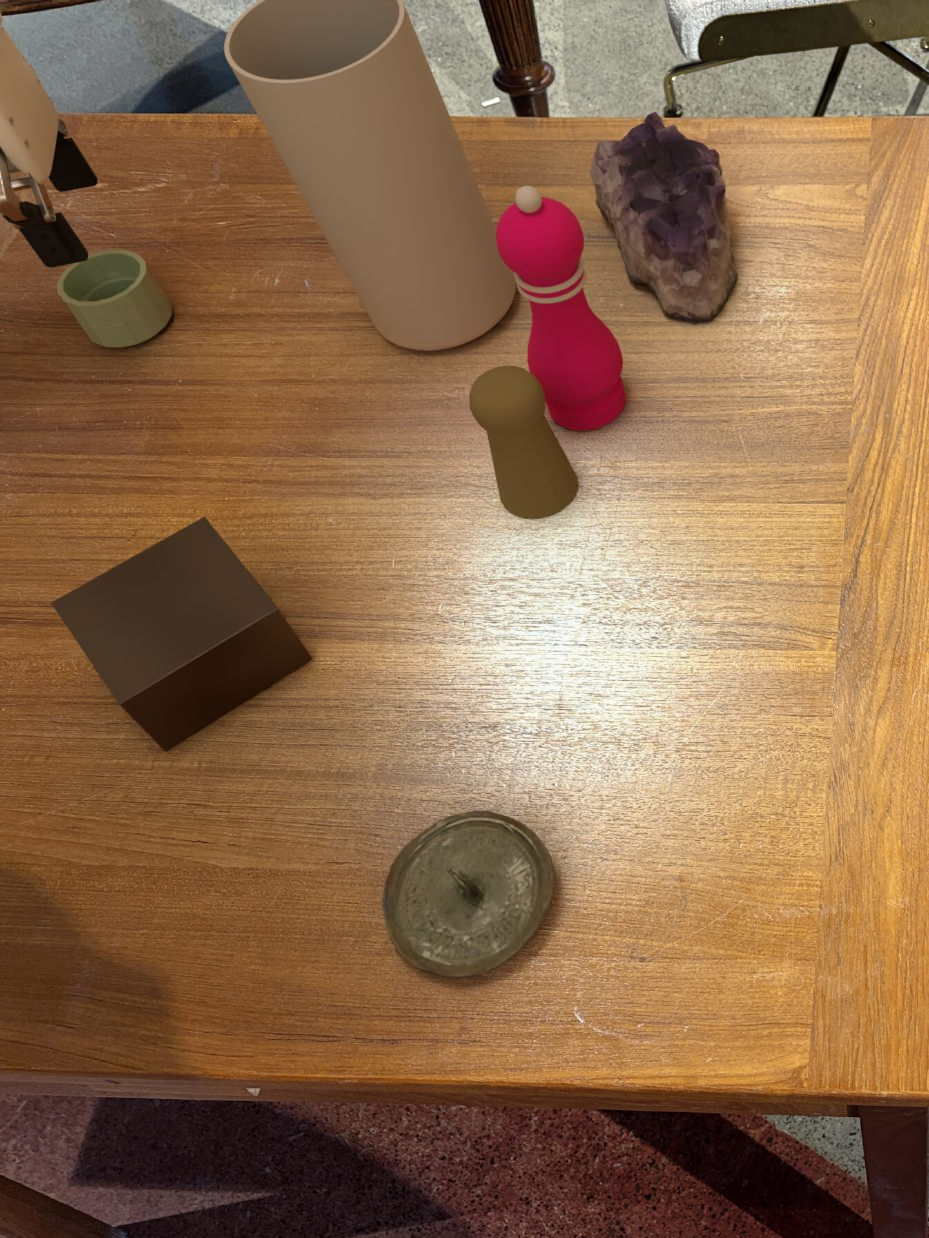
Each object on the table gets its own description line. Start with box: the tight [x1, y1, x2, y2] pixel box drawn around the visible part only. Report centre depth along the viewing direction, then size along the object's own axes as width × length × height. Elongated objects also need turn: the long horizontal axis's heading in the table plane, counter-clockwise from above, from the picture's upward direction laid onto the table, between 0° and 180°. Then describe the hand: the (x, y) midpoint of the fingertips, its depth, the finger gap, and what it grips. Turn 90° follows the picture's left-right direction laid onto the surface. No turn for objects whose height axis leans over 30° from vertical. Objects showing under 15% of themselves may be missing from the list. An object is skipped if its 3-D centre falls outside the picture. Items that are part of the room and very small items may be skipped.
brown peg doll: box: [468, 365, 580, 520], centre depth 93 cm, size 6×6×11 cm
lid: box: [381, 810, 555, 979], centre depth 77 cm, size 11×10×5 cm
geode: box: [589, 111, 739, 324], centre depth 110 cm, size 20×12×10 cm, turn 22°
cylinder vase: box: [223, 0, 517, 352], centre depth 99 cm, size 12×12×25 cm
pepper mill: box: [496, 185, 627, 432], centre depth 95 cm, size 7×7×20 cm
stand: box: [50, 516, 314, 752], centre depth 87 cm, size 11×11×6 cm
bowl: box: [56, 249, 173, 348], centre depth 107 cm, size 7×7×5 cm
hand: (74, 223), depth 101 cm, fingers open, 9 cm apart
